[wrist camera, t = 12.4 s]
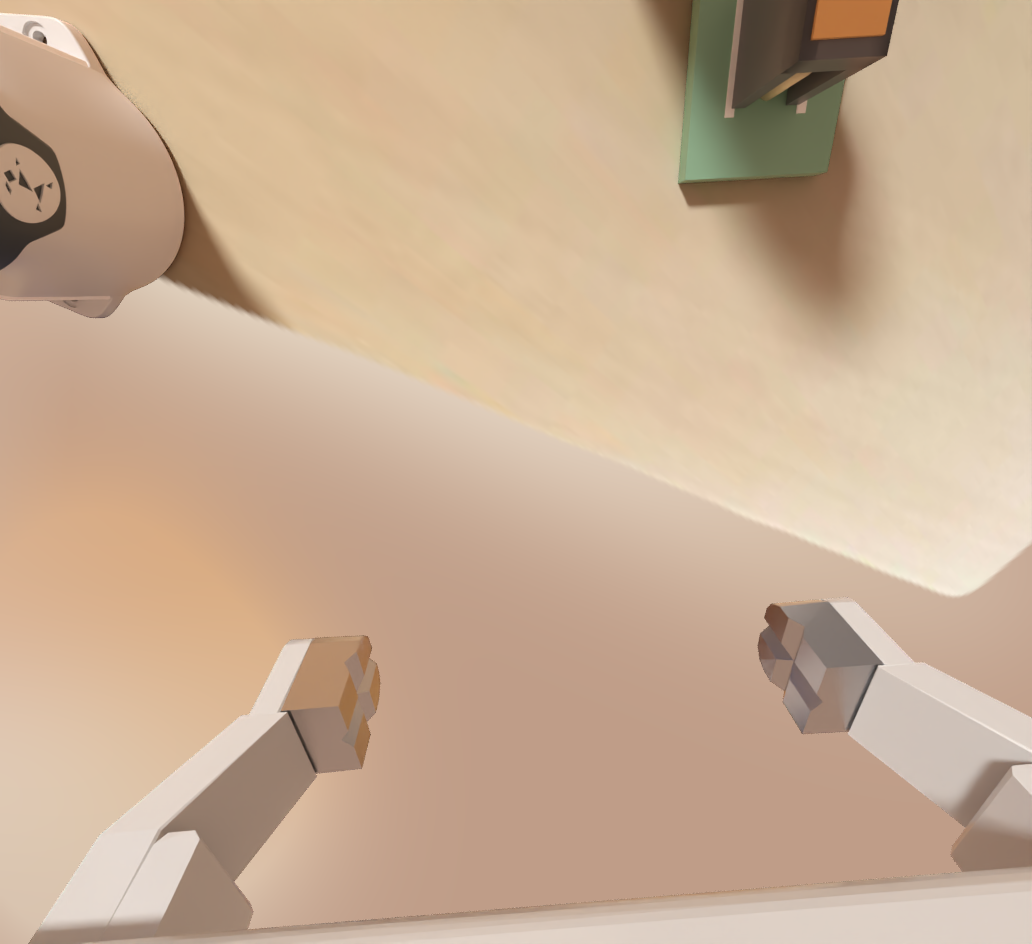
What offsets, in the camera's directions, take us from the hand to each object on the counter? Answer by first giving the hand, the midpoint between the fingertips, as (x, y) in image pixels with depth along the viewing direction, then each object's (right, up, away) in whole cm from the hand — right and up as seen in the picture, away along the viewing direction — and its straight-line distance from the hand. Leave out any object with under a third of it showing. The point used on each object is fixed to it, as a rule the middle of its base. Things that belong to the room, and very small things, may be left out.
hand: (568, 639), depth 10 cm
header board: (+16, +31, +22) cm, 41 cm away
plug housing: (+16, +31, +20) cm, 40 cm away
